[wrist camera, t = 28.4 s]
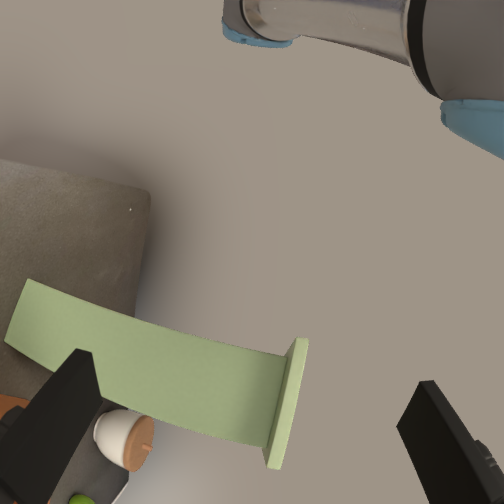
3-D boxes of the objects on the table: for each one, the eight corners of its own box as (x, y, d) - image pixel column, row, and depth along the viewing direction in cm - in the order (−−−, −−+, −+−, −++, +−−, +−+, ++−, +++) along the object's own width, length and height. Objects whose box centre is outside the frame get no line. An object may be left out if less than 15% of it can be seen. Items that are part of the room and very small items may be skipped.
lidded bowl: (94, 399, 44) (147, 422, 43) (121, 400, 55) (167, 418, 54) (81, 457, 38) (133, 482, 37) (109, 450, 50) (154, 469, 49)
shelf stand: (-20, 340, 20) (280, 470, 17) (14, 255, 25) (309, 338, 21) (42, 364, 30) (270, 447, 27) (65, 297, 35) (289, 362, 32)
